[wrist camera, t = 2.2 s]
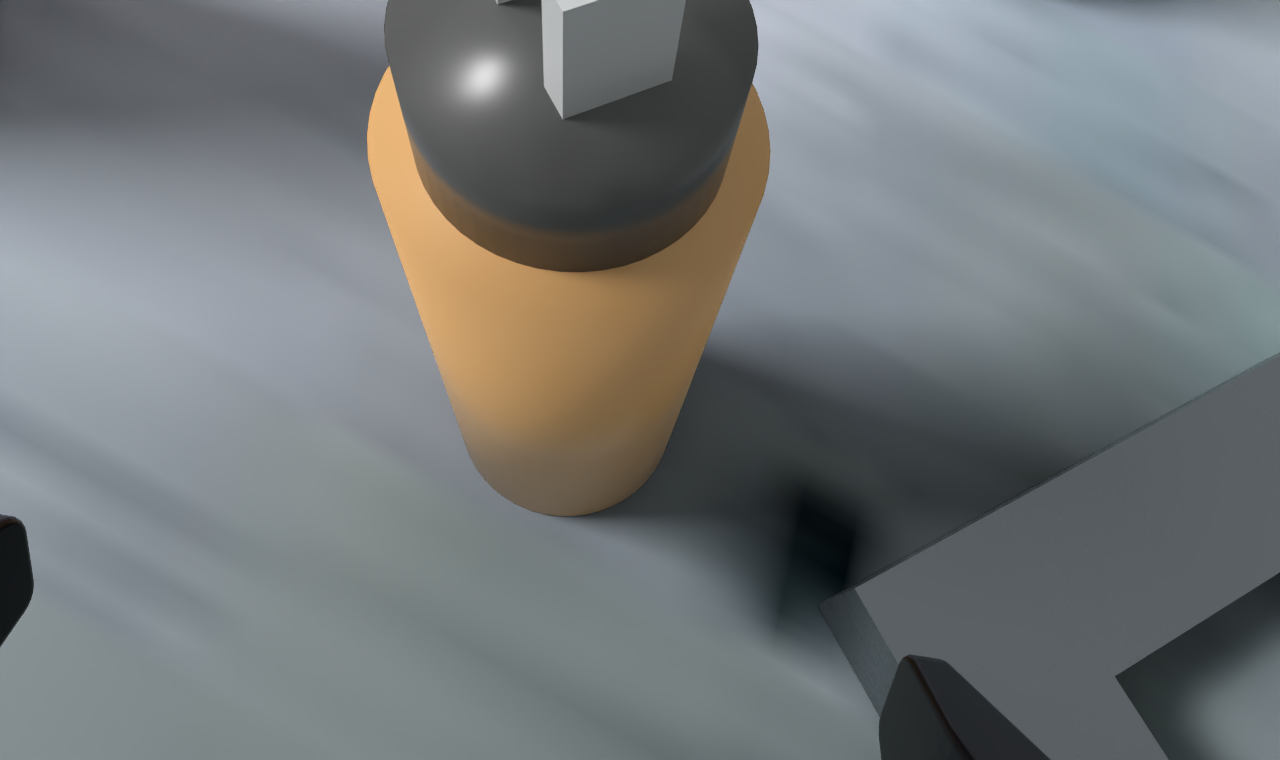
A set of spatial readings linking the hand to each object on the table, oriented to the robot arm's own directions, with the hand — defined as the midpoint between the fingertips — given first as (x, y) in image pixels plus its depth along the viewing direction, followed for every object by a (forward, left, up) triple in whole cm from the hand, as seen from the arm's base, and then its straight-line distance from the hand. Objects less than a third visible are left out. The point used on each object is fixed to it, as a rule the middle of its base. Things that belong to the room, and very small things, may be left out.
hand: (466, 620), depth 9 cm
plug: (+6, -4, -13) cm, 14 cm away
